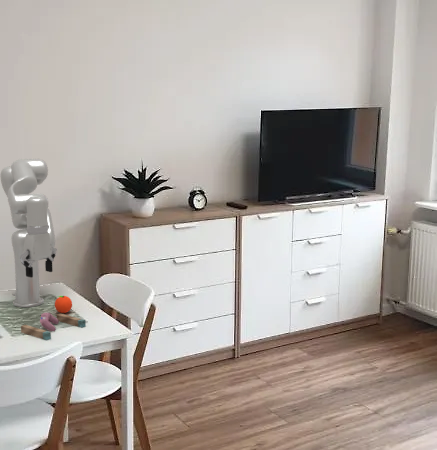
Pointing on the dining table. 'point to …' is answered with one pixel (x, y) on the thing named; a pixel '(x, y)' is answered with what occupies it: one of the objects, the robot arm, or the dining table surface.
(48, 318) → the video game controller
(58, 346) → the dining table surface
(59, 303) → the clementine
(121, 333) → the dining table surface
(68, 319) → the channel
